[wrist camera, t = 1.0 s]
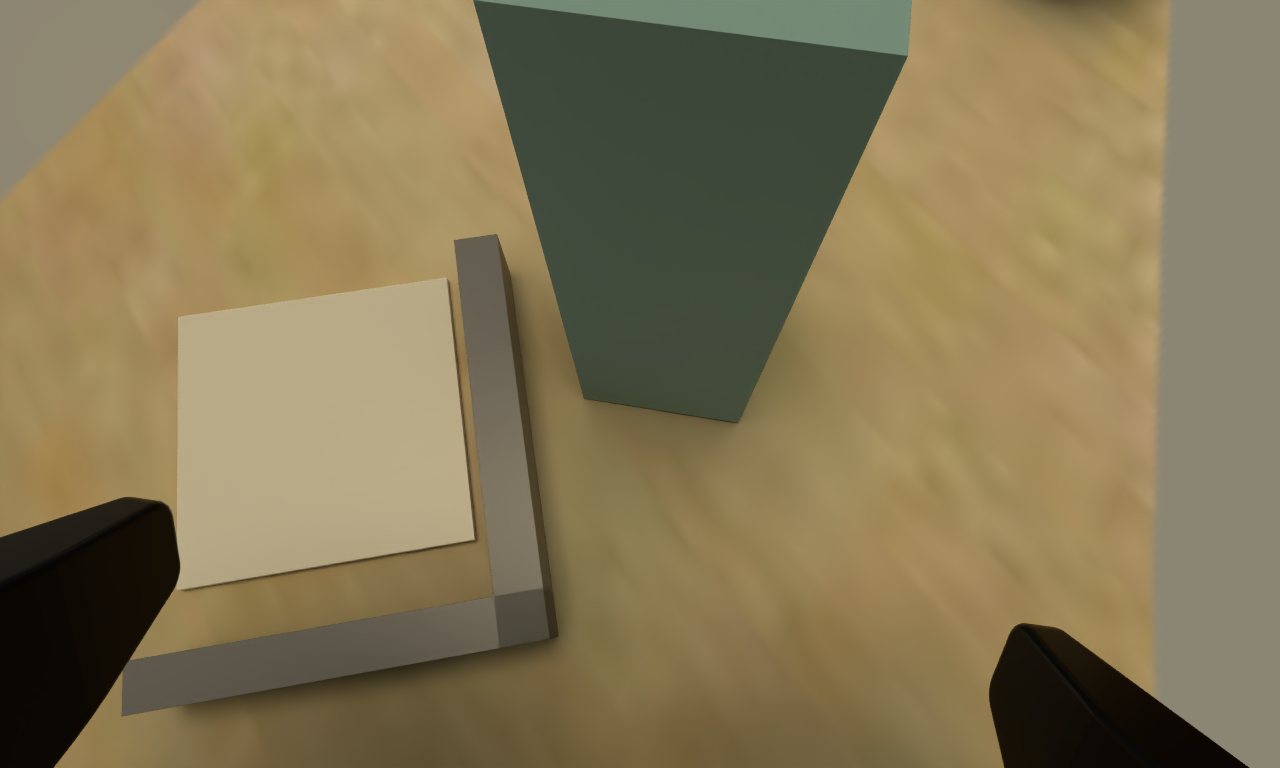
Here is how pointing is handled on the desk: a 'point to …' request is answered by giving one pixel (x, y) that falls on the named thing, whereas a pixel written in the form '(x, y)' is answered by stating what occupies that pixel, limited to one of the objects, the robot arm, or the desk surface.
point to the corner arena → (352, 473)
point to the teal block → (686, 172)
